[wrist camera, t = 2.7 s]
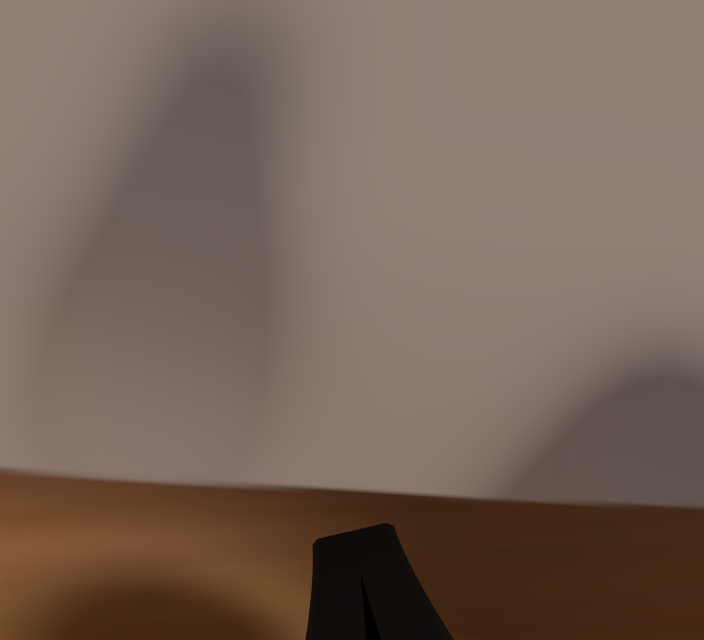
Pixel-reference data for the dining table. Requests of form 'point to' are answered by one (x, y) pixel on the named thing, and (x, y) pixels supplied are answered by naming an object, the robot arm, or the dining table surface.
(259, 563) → the dining table surface
